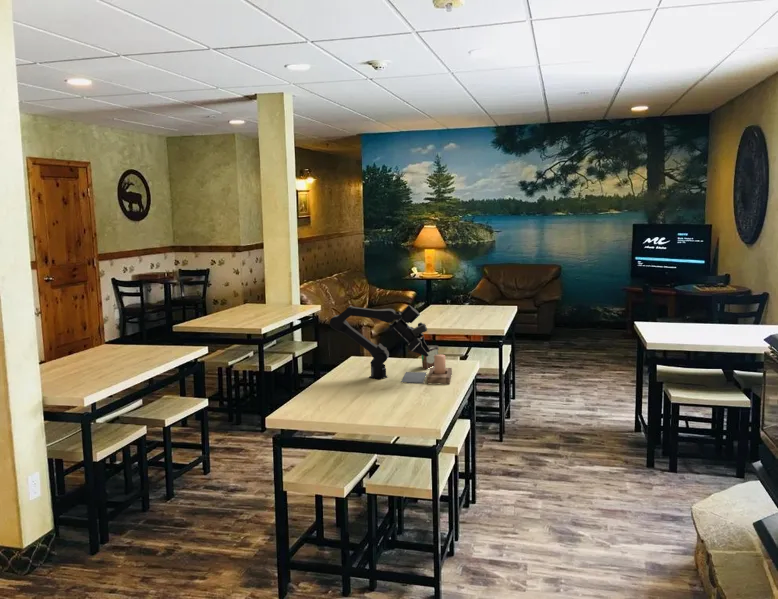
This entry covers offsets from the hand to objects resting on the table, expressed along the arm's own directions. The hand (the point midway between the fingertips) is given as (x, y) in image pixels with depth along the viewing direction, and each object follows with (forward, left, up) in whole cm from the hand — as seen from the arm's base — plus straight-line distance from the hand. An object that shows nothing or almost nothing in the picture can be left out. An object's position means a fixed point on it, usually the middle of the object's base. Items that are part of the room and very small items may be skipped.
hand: (428, 353), depth 305 cm
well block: (+4, +3, -12) cm, 13 cm away
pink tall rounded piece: (+4, +3, -12) cm, 13 cm away
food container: (-14, +18, -12) cm, 26 cm away
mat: (-6, -3, -12) cm, 14 cm away
